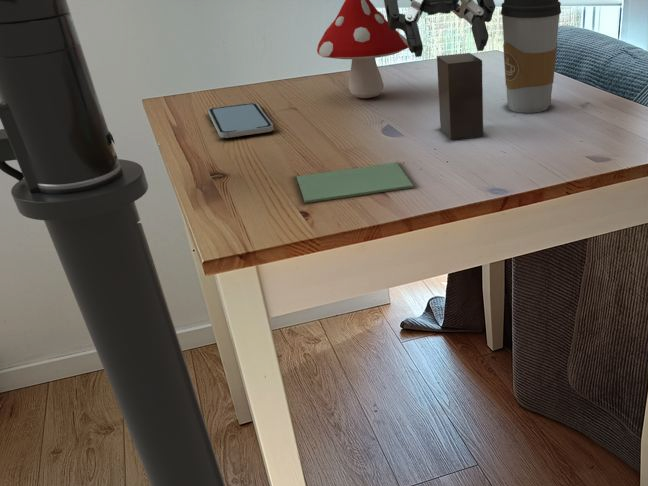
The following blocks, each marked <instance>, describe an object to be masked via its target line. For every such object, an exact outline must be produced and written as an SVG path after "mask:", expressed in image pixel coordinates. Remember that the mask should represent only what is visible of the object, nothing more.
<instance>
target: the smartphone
mask: <svg viewBox="0 0 648 486" xmlns="http://www.w3.org/2000/svg"><path fill="white" fill-rule="evenodd" d="M207 112H208V116H209V118H210V119H211V121H212V123H213V126H214V128H215V130H216V132H217V134H218V136H219V138H221V139H229V138H236V137H243V136H249V135H256V134H263V133H269V132H270V133H271V132H272V131H274V130H275V129H274V124H273V122H272V121H271V120H270V118H269V117H268V116H267V115H266V114H265V112H264V111H263V109H262V108H261V107H260V106H259V104H258V103H256V102H248V103H247V102H246V103H239V104H231V105H225V106H215V107H210V108H208V109H207Z"/></svg>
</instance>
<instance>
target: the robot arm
mask: <svg viewBox="0 0 648 486" xmlns="http://www.w3.org/2000/svg"><path fill="white" fill-rule="evenodd" d="M398 1H399V0H383V4H384V9H385V14H386V21H387V22H388V26H389V28H390V29H391V30H401V31H403V32H404V35H405V38H406V39H407V43H408V47H409V48H408V50H409V52H410V53H411V54H414V57H415V58H420V57H421V58H422V55H423V51H424V45H423V40H422V37H421V33H420V29H419V26H418V23H419V21H420V18H421V16H422V15H423V13H426V14H427V15H428V16H432V15H433V16H434V15H436V14H446V15H447V14H451V12H452V14H454V15H456V17H458V18H459V19H461V20H462V19H464V20H465V21H466V22H467V23H469V25H471V29H470V30H471V33H472V36H473V41H474V44H475V47H476V51H477V52H483V51H484V49H485V47H487V44H488V42H489V37H490V35H489V31H488V29H487V25H486V23H490V22H491V21H492V19H493V15H494V12H495V10H496V4H495V1H494V0H476V2H475V1H474V0H409V1H410V2H411V3H410V6H409V7H408V10H407V11H406V13H405V14H403V13H401V12H400V9H399V4H398ZM459 2H460V4H459ZM0 122H1V125H2V128H1V129H0V171H2V172H3V173H5V174H6V175H8V176H10V177H12V178H13V179H15V180H17V181H18V182H19V181H21V180H22V179H23V178H24V179H25V181H26V184H27V186H28V189H29V191H30V193H31V194H33V193H48V194H67V193H75V192H81V191H86V190H90V189H94V188H98V187H101V186H104V185H106V184H108V183H111V182H113V181H114V180H116V179H118V178H119V177H120V176H121V175H122V169H121V165H120V162H119V161H118V159H119V158H118V155H117V153H116V150H115V147H114V145H116V143H115V139H114V137H113V134H112V133H111V132H110V131H109V127H108V124H107V122H106V119H105V116H104V111H103V109H102V105H101V103H100V100H99V97H98V94H97V90H96V88H95V83H94V82H93V79H92V76H91V72H90V69H89V66H88V62H87V60H86V56H85V54H84V51H83V47H82V44H81V41H80V37H79V34H78V32H77V29H76V25H75V21H74V19H73V17H72V13H71V12H70V7H69V4H68V0H0ZM9 161H17V164H18V166H19V169H20V170H18V169H16V168H14V167H12V166H11V165H9V164H8V163H7V162H9Z"/></svg>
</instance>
